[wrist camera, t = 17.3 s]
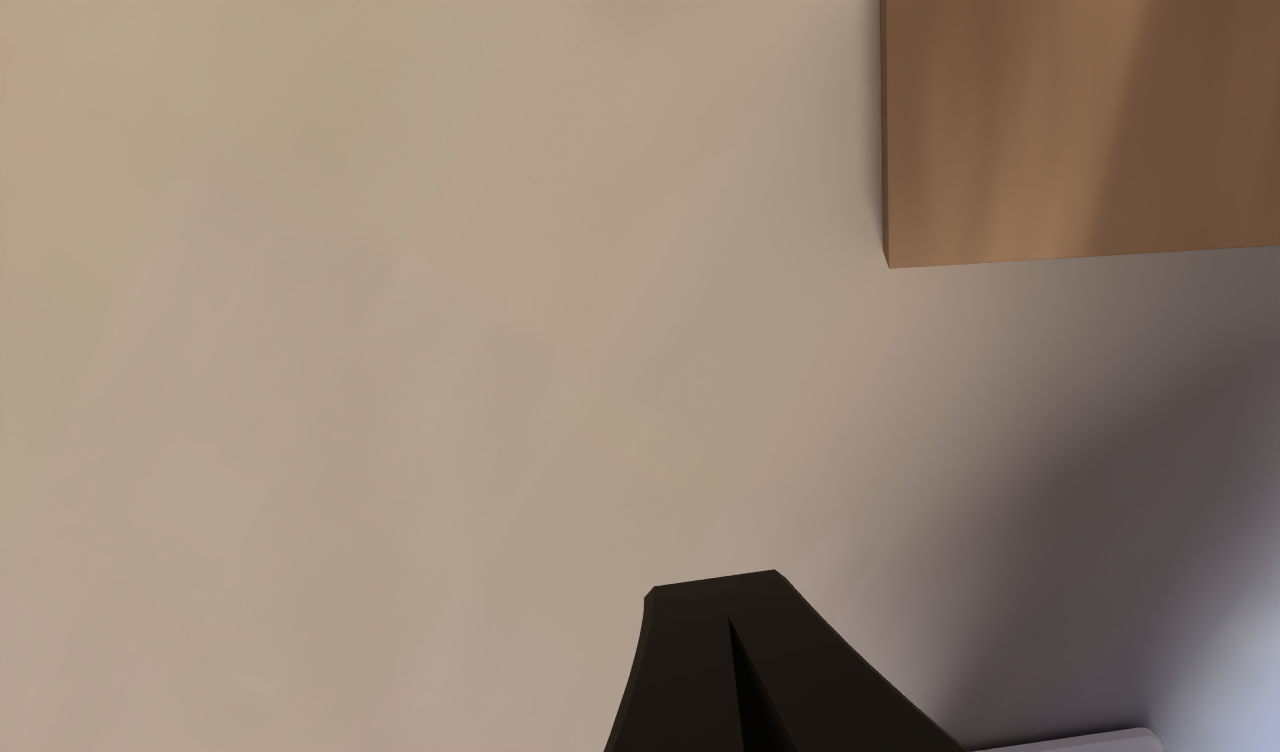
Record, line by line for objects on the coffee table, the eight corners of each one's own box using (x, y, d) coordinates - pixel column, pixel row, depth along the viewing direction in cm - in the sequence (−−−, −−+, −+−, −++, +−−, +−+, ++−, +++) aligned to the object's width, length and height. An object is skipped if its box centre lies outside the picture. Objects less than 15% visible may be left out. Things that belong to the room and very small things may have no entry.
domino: (879, -4, 16) (1362, -67, 15) (883, 251, 18) (1316, 223, 16) (886, -11, 15) (1422, -80, 13) (889, 268, 16) (1367, 239, 15)
